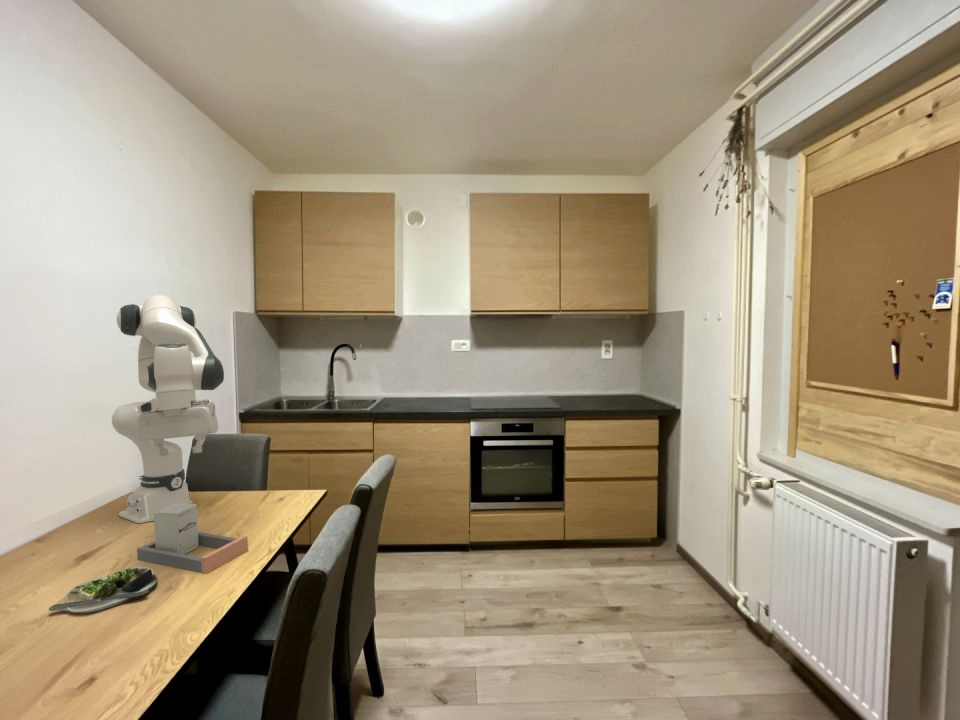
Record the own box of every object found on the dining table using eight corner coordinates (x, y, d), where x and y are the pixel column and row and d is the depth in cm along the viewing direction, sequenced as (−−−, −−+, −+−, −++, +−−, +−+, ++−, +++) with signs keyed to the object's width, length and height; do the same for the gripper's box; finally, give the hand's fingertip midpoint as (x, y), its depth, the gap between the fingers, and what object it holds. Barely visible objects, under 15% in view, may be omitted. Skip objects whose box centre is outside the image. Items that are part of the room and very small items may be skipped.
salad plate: (49, 633, 94) (47, 612, 93) (49, 598, 107) (47, 579, 106) (162, 595, 107) (161, 576, 107) (150, 568, 120) (149, 551, 120)
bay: (137, 559, 124) (136, 545, 124) (183, 539, 136) (182, 526, 136) (206, 573, 116) (205, 558, 116) (248, 550, 128) (247, 536, 128)
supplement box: (178, 559, 124) (175, 513, 123) (155, 557, 125) (152, 512, 124) (199, 547, 131) (197, 503, 130) (178, 545, 132) (175, 502, 132)
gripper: (221, 398, 125) (225, 448, 125) (149, 405, 126) (153, 456, 126) (206, 399, 119) (210, 452, 118) (131, 407, 120) (135, 460, 119)
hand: (180, 454), depth 122 cm, fingers open, 8 cm apart
